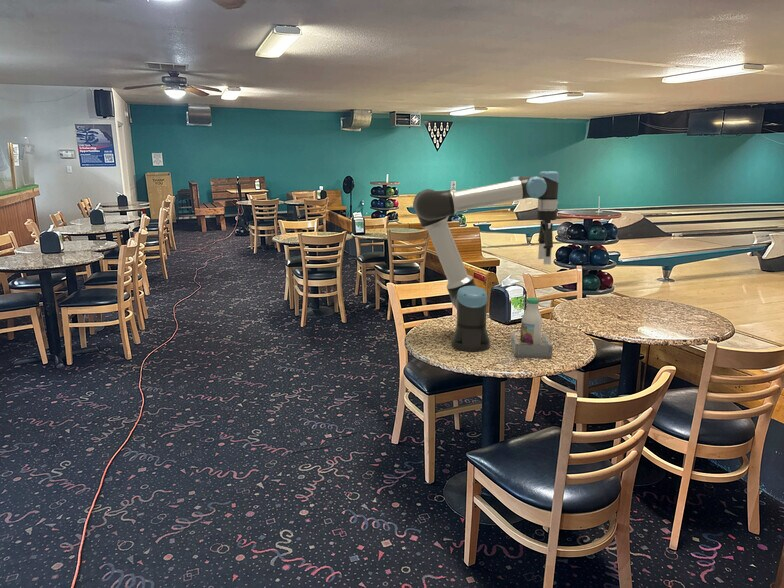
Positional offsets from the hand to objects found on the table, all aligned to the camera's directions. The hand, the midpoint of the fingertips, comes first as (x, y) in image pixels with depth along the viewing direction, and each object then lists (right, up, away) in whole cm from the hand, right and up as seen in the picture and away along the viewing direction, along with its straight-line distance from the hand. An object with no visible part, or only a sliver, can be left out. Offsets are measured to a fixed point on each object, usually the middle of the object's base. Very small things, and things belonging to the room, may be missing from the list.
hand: (544, 261), depth 218 cm
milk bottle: (-9, -35, -12) cm, 38 cm away
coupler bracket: (-9, -36, -13) cm, 39 cm away
